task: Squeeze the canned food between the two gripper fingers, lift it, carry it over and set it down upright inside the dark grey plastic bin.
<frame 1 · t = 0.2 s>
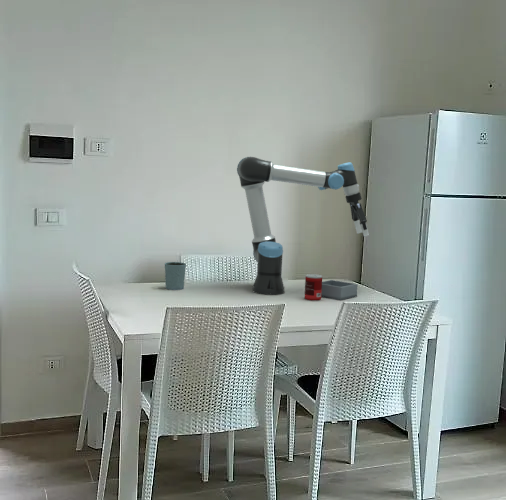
hand: (363, 234, 347), 28 cm above the table, tool tilted 20°, fingers open, 13 cm apart
blue-grey cup: (174, 288, 329), on the table
bin: (335, 296, 328), on the table
canned food: (312, 299, 318), on the table
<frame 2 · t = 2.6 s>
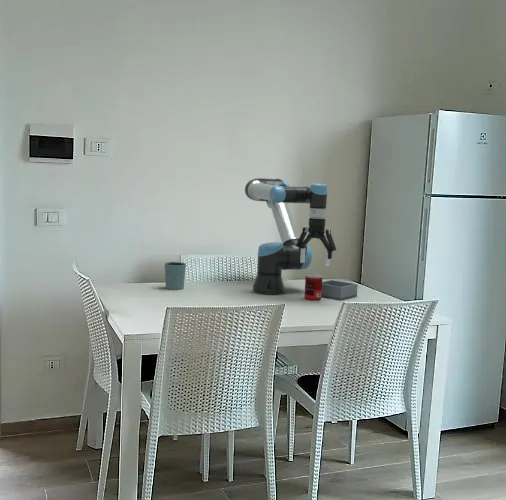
hand: (314, 264, 316), 16 cm above the table, tool pointing down, fingers open, 13 cm apart
nothing on the table moved.
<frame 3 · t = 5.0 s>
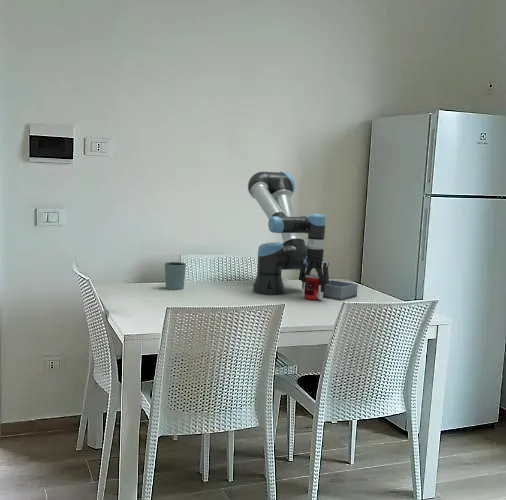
hand: (312, 297, 318), 1 cm above the table, tool pointing down, fingers closed on canned food, 8 cm apart
canned food: (312, 299, 318), on the table, touching gripper
everything else where it was.
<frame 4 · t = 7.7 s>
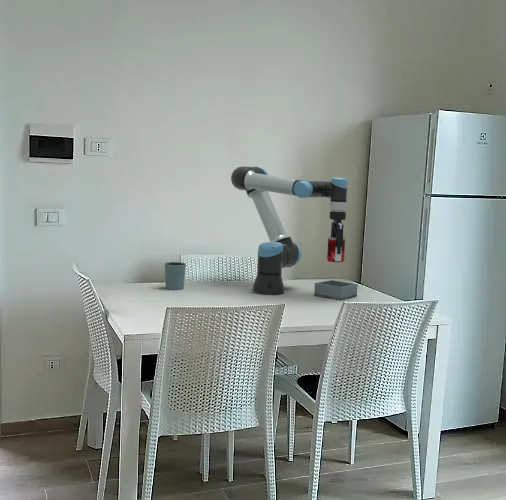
hand: (335, 259, 324), 18 cm above the table, tool pointing down, fingers closed on canned food, 8 cm apart
canned food: (335, 261, 324), point 17 cm above the table, touching gripper
everything else where it was.
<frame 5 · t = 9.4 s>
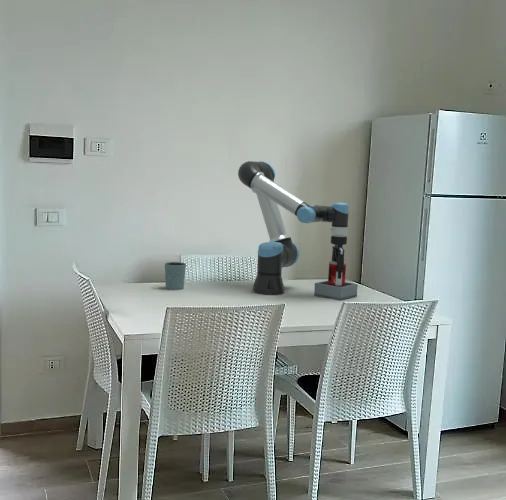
hand: (336, 283, 327), 6 cm above the table, tool pointing down, fingers closed on canned food, 8 cm apart
canned food: (336, 285, 327), point 5 cm above the table, touching gripper
everything else where it was.
when the fingers open (3 cm above the table, at t = 10.7 s): canned food drops 1 cm, resting on bin.
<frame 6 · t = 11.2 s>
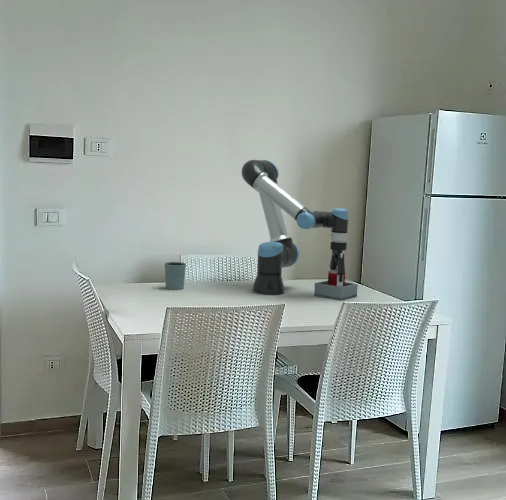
hand: (336, 286, 327), 5 cm above the table, tool pointing down, fingers open, 13 cm apart
canned food: (335, 294, 328), point 1 cm above the table, touching bin
everything else where it was.
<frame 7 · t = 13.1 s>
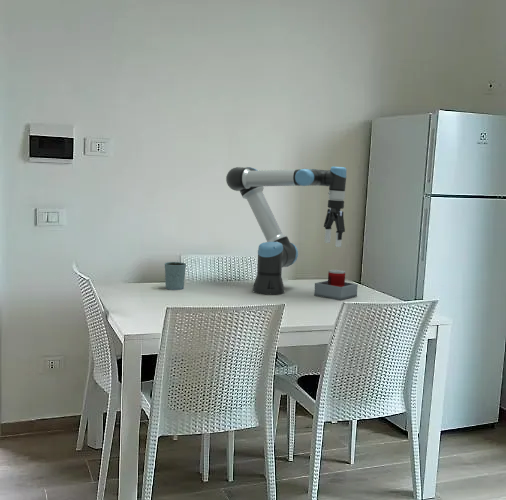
hand: (332, 244, 327), 24 cm above the table, tool pointing down, fingers open, 13 cm apart
nothing on the table moved.
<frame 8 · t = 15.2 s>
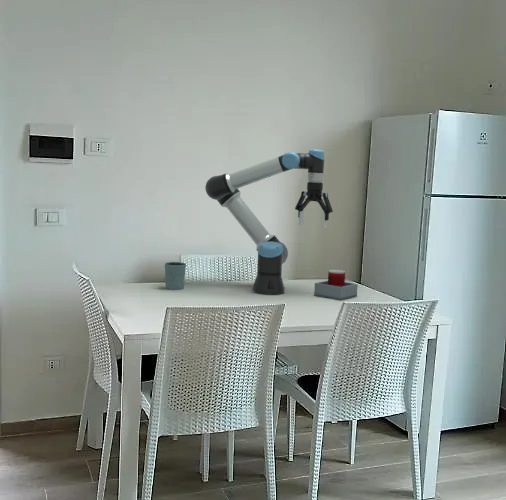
hand: (312, 225, 337), 32 cm above the table, tool pointing down, fingers open, 13 cm apart
nothing on the table moved.
at the end: canned food 0.1 cm off-centre on the bin, point 0.8 cm above the bin's base; canned food tilted 0°; the gripper is holding nothing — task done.
